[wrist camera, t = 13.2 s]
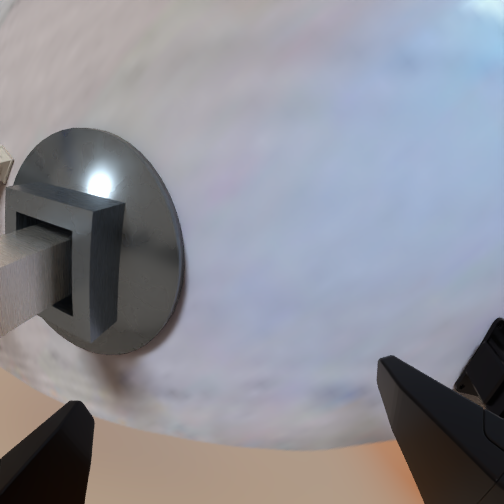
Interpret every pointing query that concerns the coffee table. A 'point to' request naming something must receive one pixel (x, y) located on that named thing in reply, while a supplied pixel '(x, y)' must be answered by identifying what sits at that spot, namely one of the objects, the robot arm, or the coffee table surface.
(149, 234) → the square socket base
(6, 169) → the eiffel tower
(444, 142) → the coffee table surface
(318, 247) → the coffee table surface
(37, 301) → the square box
